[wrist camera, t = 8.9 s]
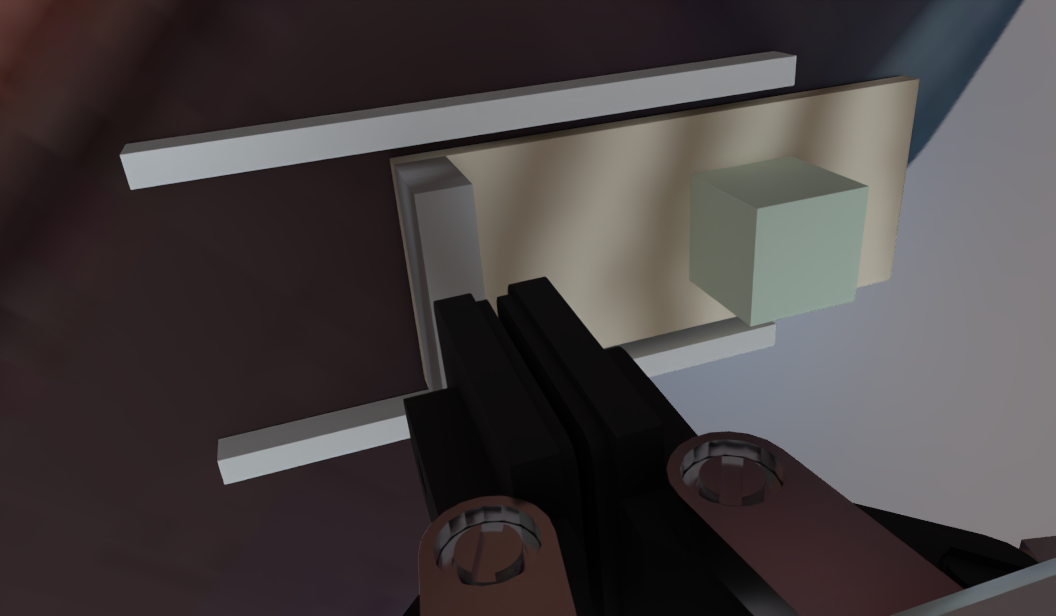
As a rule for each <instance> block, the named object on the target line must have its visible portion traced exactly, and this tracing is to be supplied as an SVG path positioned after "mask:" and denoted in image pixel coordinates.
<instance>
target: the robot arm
mask: <svg viewBox="0 0 1056 616" xmlns="http://www.w3.org/2000/svg"><path fill="white" fill-rule="evenodd" d="M433 305H434V314H435V320H436V326H437V331H438V337H439V343H440V349H441V354H442V360H443V366H444V372H445V377H446V383H447V388H445V389H441V390H437V391H433V392H429V393H425V394H421V395H417V396H413V397H409V398H405V399H403V402H404V408H405V413H406V418H407V423H408V428H409V433H410V438H411V442H412V447H413V452H414V456H415V461H416V465H417V469H418V473H419V478H420V482H421V486H422V490H423V494H424V497H425V501H426V505H427V508H428V512H429V516H430V519H431V524H430V526H429V527H428V529H427V531H426V532H425V534H424V536H423V537H422V539H421V543H420V549H419V555H418V561H419V595H418V596H417V598H416V599H415V600H414V602H413V603H412V604H411V605H410V607H409V608H408V609H407V611H406V612H405V613H404V614H403V616H1056V536H1051V537H1041V538H1032V539H1024V540H1021V544H1020V548H1019V549H1018V548H1016V547H1014V546H1012V545H1010V544H1008V543H1006V542H1003V541H1000V540H997V539H994V538H992V537H988V536H986V535H982V534H978V533H974V532H970V531H965V530H962V529H958V528H953V527H949V526H945V525H941V524H936V523H933V522H929V521H924V520H920V519H917V518H912V517H908V516H904V515H900V514H896V513H892V512H888V511H884V510H880V509H875V508H872V507H867V506H863V505H859V504H855V503H852V502H850V501H849V500H848V499H847V498H845V497H844V496H843V495H841V494H840V493H839V492H838V491H836V490H835V489H834V488H832V487H831V486H830V485H829V484H827V483H826V482H825V481H823V480H822V479H821V478H819V477H818V476H817V475H815V474H814V473H813V472H812V471H810V470H809V469H808V468H806V467H805V466H804V465H803V464H801V463H800V462H799V461H797V460H796V459H795V458H793V457H792V456H791V455H790V454H788V453H787V452H785V451H784V450H783V449H782V448H780V447H778V446H776V445H774V444H773V443H771V442H770V441H768V440H766V439H763V438H760V437H756V436H753V435H750V434H745V433H736V432H712V433H707V434H703V435H700V436H698V435H697V434H696V433H695V432H694V431H693V430H692V429H691V427H690V426H689V425H688V424H687V423H686V421H685V420H684V419H683V418H682V417H681V415H680V414H679V413H678V412H677V411H676V409H675V408H674V407H673V406H672V405H671V403H669V401H668V400H667V399H666V398H665V396H664V395H663V394H662V393H661V392H660V390H659V389H658V388H657V387H656V386H655V384H654V383H653V382H652V381H651V380H650V379H649V377H648V376H647V375H646V374H645V373H644V371H643V370H642V369H641V368H640V367H639V366H638V364H637V363H636V362H635V361H634V360H633V358H632V357H631V356H630V355H629V354H628V353H627V351H626V350H624V349H623V348H622V347H620V346H615V347H611V348H607V349H603V347H602V346H601V345H600V344H599V342H598V341H597V340H596V339H595V337H594V336H593V335H592V334H591V332H590V331H589V330H588V329H587V327H586V326H585V325H584V323H583V322H582V321H581V320H580V318H579V317H578V316H577V315H576V313H575V312H574V311H573V310H572V308H571V307H570V306H569V305H568V303H567V302H566V301H565V300H564V298H563V297H562V296H561V295H560V293H559V292H558V291H557V290H556V288H555V287H554V286H553V285H552V283H551V282H550V281H549V279H548V278H546V277H545V276H544V277H540V278H535V279H531V280H526V281H522V282H517V283H513V284H509V285H508V295H503V296H499V297H497V312H498V316H497V315H496V313H495V311H494V310H493V308H492V306H491V304H490V303H489V301H488V300H487V299H485V300H481V301H475V299H474V297H473V295H472V294H471V293H468V294H463V295H459V296H454V297H450V298H445V299H441V300H436V301H434V303H433Z"/></svg>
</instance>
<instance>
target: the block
mask: <svg viewBox="0 0 1056 616" xmlns="http://www.w3.org/2000/svg"><path fill="white" fill-rule="evenodd" d="M868 192H869V186H867V185H865V184H862V183H859V182H857V181H854V180H852V179H849V178H847V177H844V176H842V175H839V174H836V173H834V172H831V171H829V170H826V169H824V168H821V167H818V166H816V165H813V164H811V163H808V162H806V161H803V160H801V159H798V158H795V157H793V156H788V157H783V158H777V159H772V160H766V161H761V162H756V163H750V164H745V165H739V166H734V167H728V168H723V169H717V170H712V171H707V172H701V173H696V174H691V202H690V257H689V280H690V281H691V282H692V283H694V284H695V285H696V286H698V287H699V288H700V289H702V290H703V291H704V292H705V293H707V294H708V295H709V296H711V297H712V298H713V299H715V300H716V301H717V302H719V303H720V304H721V305H723V306H724V307H725V308H727V309H728V310H729V311H731V312H732V313H733V314H735V315H736V316H737V317H738V318H740V319H741V320H742V321H744V322H745V323H746V324H748V325H749V326H750V327H751V326H755V325H759V324H763V323H767V322H771V321H775V320H779V319H783V318H787V317H791V316H796V315H799V314H804V313H808V312H812V311H816V310H820V309H824V308H828V307H833V306H837V305H841V304H845V303H849V302H853V301H855V296H856V288H857V280H858V272H859V264H860V256H861V248H862V240H863V232H864V224H865V216H866V208H867V200H868Z"/></svg>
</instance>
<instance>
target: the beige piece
mask: <svg viewBox="0 0 1056 616" xmlns="http://www.w3.org/2000/svg"><path fill="white" fill-rule="evenodd" d="M918 86H919V79H917V78H912V77H907V76H898V77H892V78H886V79H880V80H873V81H867V82H861V83H855V84H848V85H842V86H836V87H830V88H823V89H817V90H811V91H805V92H799V93H792V94H786V95H780V96H774V97H767V98H761V99H755V100H749V101H742V102H736V103H730V104H724V105H717V106H711V107H705V108H699V109H693V110H686V111H680V112H674V113H668V114H661V115H655V116H649V117H643V118H636V119H630V120H624V121H618V122H611V123H605V124H599V125H593V126H587V127H580V128H574V129H568V130H562V131H555V132H549V133H543V134H537V135H530V136H524V137H518V138H512V139H505V140H499V141H493V142H487V143H481V144H474V145H468V146H462V147H456V148H449V149H443V150H437V151H431V152H424V153H418V154H412V155H406V156H399V157H393V158H389V159H390V165H391V171H392V177H393V184H394V190H395V196H396V202H397V209H398V215H399V221H400V227H401V234H402V240H403V246H404V252H405V259H406V265H407V271H408V277H409V284H410V290H411V296H412V302H413V309H414V315H415V321H416V327H417V334H418V340H419V346H420V352H421V359H422V365H423V371H424V377H425V381H426V383H427V385H428V388H429V390H430V392H433V391H437V390H441V389H445V388H447V383H446V377H445V372H444V366H443V360H442V354H441V349H440V343H439V337H438V331H437V326H436V320H435V314H434V305H433V303H434V301H436V300H441V299H445V298H450V297H454V296H459V295H463V294H468V293H471V294H472V295H473V297H474V299H475V301H481V300H485V299H487V300H488V301H489V303H490V304H491V306H492V308H493V310H494V311H495V313H496V315H497V316H498V312H497V297H499V296H503V295H508V285H509V284H513V283H517V282H522V281H526V280H531V279H535V278H540V277H544V276H545V277H546V278H548V279H549V281H550V282H551V283H552V285H553V286H554V287H555V288H556V290H557V291H558V292H559V293H560V295H561V296H562V297H563V298H564V300H565V301H566V302H567V303H568V305H569V306H570V307H571V308H572V310H573V311H574V312H575V313H576V315H577V316H578V317H579V318H580V320H581V321H582V322H583V323H584V325H585V326H586V327H587V329H588V330H589V331H590V332H591V334H592V335H593V336H594V337H595V339H596V340H597V341H598V342H599V344H600V345H601V346H602V347H603V348H607V347H611V346H615V345H619V344H624V343H628V342H632V341H636V340H640V339H645V338H649V337H653V336H657V335H661V334H666V333H670V332H674V331H678V330H682V329H686V328H691V327H695V326H699V325H703V324H707V323H712V322H716V321H720V320H724V319H728V318H733V317H737V316H736V315H735V314H733V313H732V312H731V311H729V310H728V309H727V308H725V307H724V306H723V305H721V304H720V303H719V302H717V301H716V300H715V299H713V298H712V297H711V296H709V295H708V294H707V293H705V292H704V291H703V290H702V289H700V288H699V287H698V286H696V285H695V284H694V283H692V282H691V281H690V280H689V257H690V202H691V174H696V173H701V172H707V171H712V170H717V169H723V168H728V167H734V166H739V165H745V164H750V163H756V162H761V161H766V160H772V159H777V158H783V157H788V156H793V157H795V158H798V159H801V160H803V161H806V162H808V163H811V164H813V165H816V166H818V167H821V168H824V169H826V170H829V171H831V172H834V173H836V174H839V175H842V176H844V177H847V178H849V179H852V180H854V181H857V182H859V183H862V184H865V185H867V186H869V192H868V200H867V208H866V216H865V224H864V232H863V240H862V248H861V256H860V264H859V272H858V280H857V288H858V287H862V286H866V285H871V284H875V283H879V282H883V281H887V280H890V277H891V270H892V264H893V257H894V250H895V243H896V236H897V230H898V223H899V216H900V209H901V202H902V195H903V188H904V182H905V175H906V168H907V161H908V154H909V147H910V141H911V134H912V127H913V120H914V113H915V106H916V100H917V93H918Z"/></svg>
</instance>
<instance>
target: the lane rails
mask: <svg viewBox="0 0 1056 616" xmlns="http://www.w3.org/2000/svg"><path fill="white" fill-rule="evenodd" d="M796 57H797V56H795V55H790V54H786V53H781V52H776V51H771V52H764V53H757V54H750V55H743V56H736V57H729V58H722V59H715V60H708V61H701V62H694V63H687V64H680V65H673V66H667V67H660V68H653V69H646V70H639V71H632V72H625V73H618V74H611V75H604V76H597V77H590V78H583V79H576V80H569V81H562V82H555V83H548V84H541V85H534V86H527V87H520V88H513V89H506V90H499V91H492V92H485V93H478V94H471V95H464V96H457V97H451V98H444V99H437V100H430V101H423V102H416V103H409V104H402V105H395V106H388V107H381V108H374V109H367V110H360V111H353V112H346V113H339V114H332V115H325V116H318V117H311V118H304V119H297V120H290V121H283V122H276V123H269V124H262V125H255V126H248V127H242V128H235V129H228V130H221V131H214V132H207V133H200V134H193V135H186V136H179V137H172V138H165V139H158V140H151V141H144V142H137V143H130V144H126V145H125V147H124V148H123V150H122V152H121V154H120V157H121V161H122V164H123V167H124V170H125V173H126V176H127V179H128V183H129V186H130V189H131V190H133V189H139V188H145V187H152V186H158V185H164V184H171V183H177V182H184V181H190V180H196V179H203V178H209V177H215V176H222V175H228V174H234V173H241V172H247V171H253V170H260V169H266V168H272V167H279V166H285V165H292V164H298V163H304V162H311V161H317V160H323V159H330V158H336V157H342V156H349V155H355V154H361V153H368V152H374V151H380V150H387V149H393V148H399V147H406V146H412V145H419V144H425V143H431V142H438V141H444V140H450V139H457V138H463V137H469V136H476V135H482V134H488V133H495V132H501V131H507V130H514V129H520V128H527V127H533V126H539V125H546V124H552V123H558V122H565V121H571V120H577V119H584V118H590V117H596V116H603V115H609V114H615V113H622V112H628V111H634V110H641V109H647V108H654V107H660V106H666V105H673V104H679V103H685V102H692V101H698V100H704V99H711V98H717V97H723V96H730V95H736V94H742V93H749V92H755V91H761V90H768V89H774V88H781V87H787V86H793V85H794V83H795V70H796ZM775 333H776V324H775V323H774V322H773V321H771V322H767V323H763V324H759V325H755V326H751V327H750V326H749V325H748V324H746V323H745V322H744V321H742V320H741V319H740V318H738V317H733V318H728V319H724V320H720V321H716V322H712V323H707V324H703V325H699V326H695V327H691V328H686V329H682V330H678V331H674V332H670V333H666V334H661V335H657V336H653V337H649V338H645V339H640V340H636V341H632V342H628V343H624V344H619V345H615V346H620V347H622V348H623V349H624V350H626V351H627V353H628V354H629V355H630V356H631V357H632V358H633V360H634V361H635V362H636V363H637V364H638V366H639V367H640V368H641V369H642V370H643V371H644V373H645V374H646V375H647V376H648V377H652V376H656V375H660V374H664V373H668V372H672V371H676V370H680V369H684V368H688V367H692V366H696V365H699V364H704V363H708V362H712V361H716V360H720V359H723V358H727V357H731V356H735V355H739V354H743V353H747V352H751V351H755V350H759V349H763V348H767V347H771V346H774V345H775ZM615 346H611V347H615ZM611 347H607V348H611ZM607 348H603V349H607ZM429 392H430V390H429V389H427V390H423V391H419V392H415V393H411V394H406V395H402V396H398V397H394V398H390V399H385V400H381V401H377V402H373V403H369V404H364V405H360V406H356V407H352V408H348V409H343V410H339V411H335V412H331V413H327V414H323V415H318V416H314V417H310V418H306V419H302V420H297V421H293V422H289V423H285V424H281V425H276V426H272V427H268V428H264V429H260V430H255V431H251V432H247V433H243V434H239V435H235V436H230V437H226V438H222V439H218V457H217V462H218V465H219V468H220V471H221V474H222V478H223V481H224V484H225V485H226V484H230V483H234V482H237V481H241V480H245V479H249V478H253V477H257V476H261V475H265V474H269V473H273V472H277V471H281V470H285V469H289V468H293V467H297V466H301V465H305V464H309V463H313V462H316V461H320V460H324V459H328V458H332V457H336V456H340V455H344V454H348V453H352V452H356V451H360V450H364V449H368V448H372V447H376V446H380V445H384V444H388V443H392V442H396V441H399V440H403V439H407V438H410V433H409V428H408V423H407V418H406V413H405V408H404V402H403V399H405V398H409V397H413V396H417V395H421V394H425V393H429Z"/></svg>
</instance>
